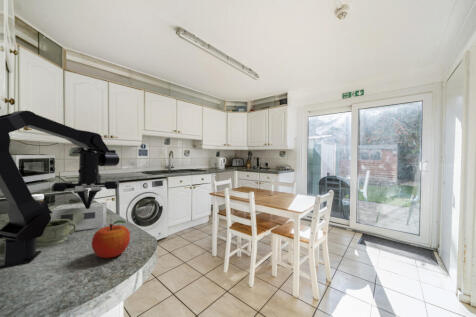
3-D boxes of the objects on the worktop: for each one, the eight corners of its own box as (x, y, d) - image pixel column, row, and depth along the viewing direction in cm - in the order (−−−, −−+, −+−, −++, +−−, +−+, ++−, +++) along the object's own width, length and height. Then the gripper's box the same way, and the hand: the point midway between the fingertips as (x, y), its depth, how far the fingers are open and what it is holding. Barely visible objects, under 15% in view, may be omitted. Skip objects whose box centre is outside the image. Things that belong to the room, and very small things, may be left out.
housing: (102, 227, 78) (103, 206, 78) (50, 234, 70) (51, 209, 70) (106, 221, 85) (106, 202, 85) (59, 227, 78) (60, 205, 78)
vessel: (73, 232, 72) (74, 216, 72) (78, 239, 66) (79, 221, 66) (26, 242, 63) (27, 224, 63) (28, 251, 57) (28, 230, 57)
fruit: (97, 250, 59) (98, 217, 59) (132, 245, 62) (133, 215, 62) (85, 266, 50) (86, 228, 50) (126, 260, 53) (127, 224, 53)
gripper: (121, 166, 81) (120, 202, 81) (64, 166, 73) (63, 206, 72) (117, 167, 71) (116, 208, 71) (51, 166, 63) (50, 213, 62)
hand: (88, 208), depth 69 cm, fingers closed
